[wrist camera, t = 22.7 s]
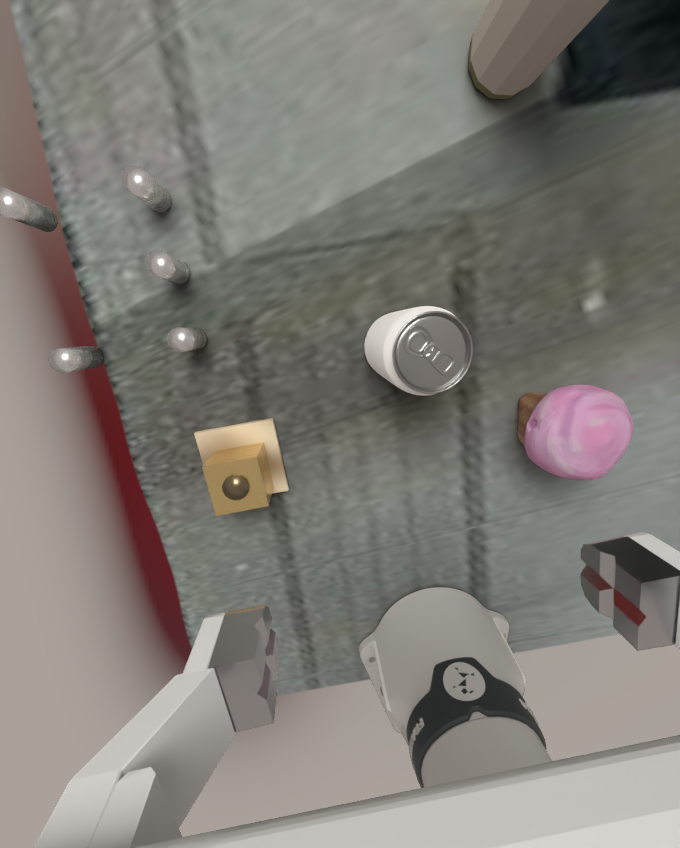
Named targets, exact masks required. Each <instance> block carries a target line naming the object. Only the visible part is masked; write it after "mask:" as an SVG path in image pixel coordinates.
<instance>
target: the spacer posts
mask: <svg viewBox="0 0 680 848" xmlns="http://www.w3.org/2000/svg"><path fill="white" fill-rule="evenodd" d="M121 178H122V183H123V185H124V187H125V188H126V189H127V190H128V191H129V192H130V193H131V194H133V195H134V196H136V197H137V198H138V199H140V200H141V201H142V202H144V203H145V204H146V205H148V206H149V207H150V208H152V209H153V210H154V211H156V212H159V213H163V212H166V211H168V210H169V208H170V207H171V196H170V194H169V193H168V192H167V191H166V190H165V189H164V188H163V187H162V186H161V185H160V184H159V183H158V182H157V181H156V180H155V179H154V178H153V177H151V176H150V175H149V174H148V173H147V172H146V171H145V170H144V169H143V168H142V167H140V166H138V165H128V166H127V167H125V168H124V170H123V172H122V176H121ZM0 215H1V216H4V217H7V218H9V219H12V220H15V221H18V222H21V223H23V224H26V225H29V226H32V227H35V228H37V229H40V230H42V231H46V232H50V231H53V230H54V229H55V228H56V227H57V224H58V220H57V216H56V214H55V213H54V212H53V210H52V209H50V208H48V207H46V206H44V205H42V204H39V203H37V202H35V201H33V200H31V199H29V198H26V197H24V196H22V195H20V194H18V193H15V192H13V191H11V190H9V189H7V188H4V187H0ZM146 267H147V269H148V271H149V272H150V273H151V274H152V275H154V276H156V277H159V278H162V279H165V280H168V281H171V282H174V283H177V284H184V283H186V282H187V281H188V280H189V278H190V270H189V267H188V266H187V265H186V264H185V263H184V262H182V261H180V260H178V259H176V258H174V257H172V256H170V255H168V254H166V253H164V252H162V251H158V250H156V251H152V252H150V253H149V254H148V256H147V258H146ZM168 343H169V345H170V347H171V348H172V349H174V350H175V351H178V352H185V351H191V350H196V349H201V348H203V347H204V346H205V345H206V343H207V335H206V334H205V332H204V331H203V330H201V329H199V328H174V329H172V330H171V331H170V332H169V334H168ZM48 360H49V363H50V365H51V367H52V368H53V369H54V370H56V371H58V372H61V373H65V372H71V371H76V370H83V369H89V368H94V367H98V366H100V365H101V364H102V363H103V361H104V356H103V353H102V352H101V350H100V349H98V348H97V347H94V346H86V347H72V348H59V349H54V350H53V351H51V352H50V354H49V358H48Z"/></svg>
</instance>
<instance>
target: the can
mask: <svg viewBox="0 0 680 848" xmlns="http://www.w3.org/2000/svg"><path fill="white" fill-rule="evenodd" d="M364 349H365V355H366V358H367V361H368V363H369V364H370V366H371V367H372V368H373V369H374V370H375V371H376V372H377V373H378V374H379V375H381V376H382V377H384V378H385V379H386V380H388V381H389V382H391V383H392V384H394V385H395V386H397V387H398V388H400V389H401V390H403V391H405V392H408V393H410V394H414V395H422V396H425V395H433V394H437V393H441V392H444V391H446V390H448V389H450V388H452V387H453V386H455V385H456V384H457V383H458V382H459V381H460V380H461V379H462V378H463V377H464V376H465V374H466V372H467V371H468V369H469V367H470V364H471V361H472V356H473V344H472V339H471V336H470V333H469V331H468V329H467V328H466V326H465V325H464V324H463V323H462V322H461V321H460V320H459V319H458V318H457V317H456V316H455V315H453V314H452V313H450V312H449V311H447V310H445V309H442V308H439V307H433V306H422V307H416V308H411V309H406V310H401V311H397V312H392V313H389V314H386V315H384V316H382V317H380V318H379V319H377V320H376V321H375V322H374V323H373V324H372V326H371V327H370V329H369V331H368V333H367V336H366V339H365V345H364Z"/></svg>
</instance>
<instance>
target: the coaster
mask: <svg viewBox="0 0 680 848" xmlns="http://www.w3.org/2000/svg"><path fill="white" fill-rule="evenodd" d="M194 434H195V438H196V441H197V445H198V448H199V452H200V455H201V459H202V462H203V465H204V464H205V463H206V462H207V460H208V459H209V458H210V457H211V455H212V454H213V453H214V452H215V451H217V450H223V449H229V448H234V447H240V446H245V445H251V444H256V443H262V442H264V446H265V451H266V455H267V459H268V464H269V468H270V472H271V476H272V481H273V485H274V488H273V492H272V494H273V493H278V492H284V491H289V486H288V481H287V477H286V472H285V468H284V463H283V459H282V455H281V450H280V446H279V441H278V437H277V432H276V428H275V423H274V419H273V418H269V419H264V420H258V421H253V422H247V423H242V424H236V425H230V426H225V427H219V428H214V429H208V430H203V431H197V432H195V433H194Z"/></svg>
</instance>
